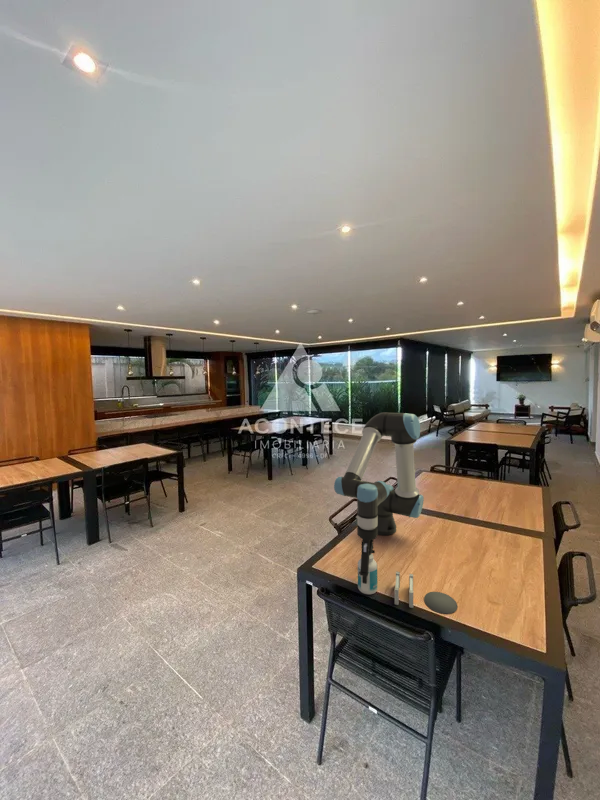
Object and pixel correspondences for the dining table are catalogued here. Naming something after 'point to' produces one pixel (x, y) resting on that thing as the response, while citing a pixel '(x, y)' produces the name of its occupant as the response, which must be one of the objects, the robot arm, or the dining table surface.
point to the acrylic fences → (399, 587)
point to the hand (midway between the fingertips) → (367, 579)
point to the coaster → (440, 602)
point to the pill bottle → (372, 576)
